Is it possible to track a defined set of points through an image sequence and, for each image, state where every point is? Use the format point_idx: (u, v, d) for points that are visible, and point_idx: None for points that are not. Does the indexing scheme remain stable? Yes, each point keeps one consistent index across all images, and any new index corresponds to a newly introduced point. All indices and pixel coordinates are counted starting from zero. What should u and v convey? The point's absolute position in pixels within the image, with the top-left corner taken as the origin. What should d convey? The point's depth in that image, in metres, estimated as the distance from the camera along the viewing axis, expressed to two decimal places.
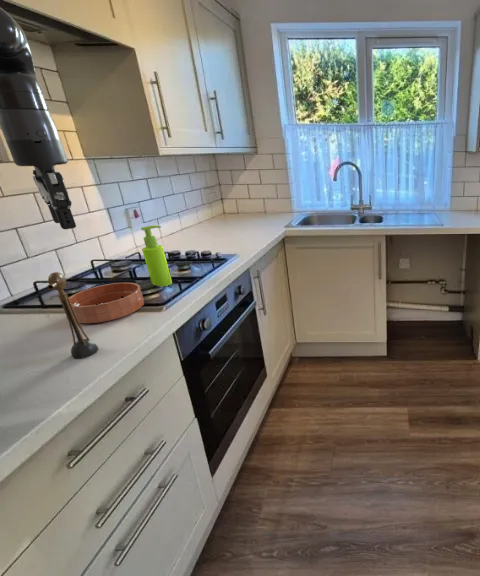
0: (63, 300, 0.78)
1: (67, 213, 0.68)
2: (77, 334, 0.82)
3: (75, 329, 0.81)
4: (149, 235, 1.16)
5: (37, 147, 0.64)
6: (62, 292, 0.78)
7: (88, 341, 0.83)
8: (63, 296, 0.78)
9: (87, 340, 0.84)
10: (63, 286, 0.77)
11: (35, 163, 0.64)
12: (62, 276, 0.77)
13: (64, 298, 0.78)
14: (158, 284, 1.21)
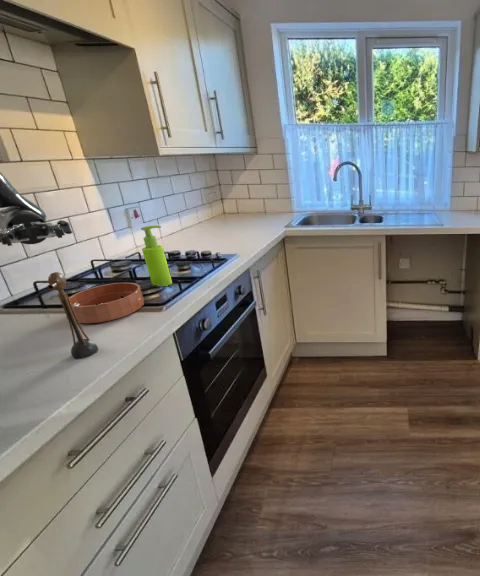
0: (63, 300, 0.78)
1: None
2: (77, 334, 0.82)
3: (75, 329, 0.81)
4: (149, 235, 1.16)
5: None
6: (62, 292, 0.78)
7: (88, 341, 0.83)
8: (63, 296, 0.78)
9: (87, 340, 0.84)
10: (63, 286, 0.77)
11: (45, 221, 0.90)
12: (62, 276, 0.77)
13: (64, 298, 0.78)
14: (158, 284, 1.21)
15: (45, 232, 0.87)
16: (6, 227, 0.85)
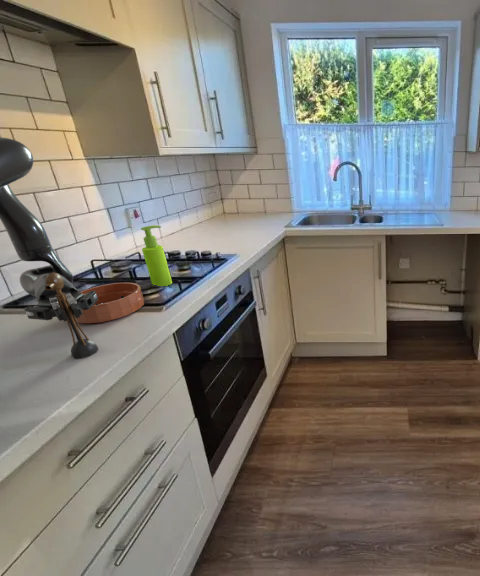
0: (61, 300, 0.78)
1: None
2: (76, 334, 0.82)
3: (74, 329, 0.81)
4: (149, 235, 1.16)
5: None
6: (60, 292, 0.78)
7: (88, 341, 0.83)
8: (61, 296, 0.78)
9: (87, 340, 0.83)
10: (61, 286, 0.77)
11: (76, 289, 0.88)
12: (59, 276, 0.77)
13: (62, 298, 0.78)
14: (158, 284, 1.21)
15: None
16: (38, 299, 0.83)
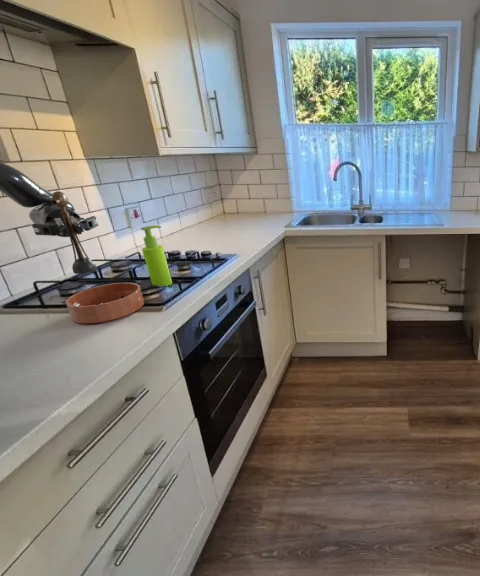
0: (65, 218, 0.87)
1: None
2: (78, 251, 0.91)
3: (76, 246, 0.90)
4: (149, 235, 1.16)
5: None
6: (64, 210, 0.87)
7: (88, 259, 0.92)
8: (65, 213, 0.87)
9: (87, 258, 0.92)
10: (65, 204, 0.86)
11: None
12: (64, 195, 0.86)
13: (66, 216, 0.87)
14: (158, 284, 1.21)
15: None
16: (44, 221, 0.92)
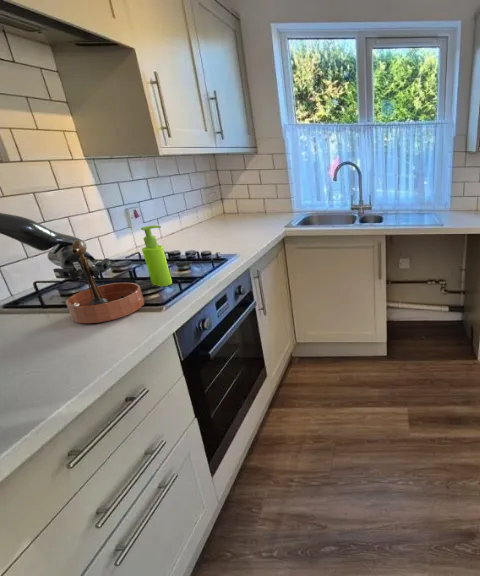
0: (83, 263, 0.97)
1: None
2: (94, 292, 1.01)
3: (92, 288, 1.00)
4: (149, 235, 1.16)
5: None
6: (83, 256, 0.97)
7: (103, 298, 1.02)
8: (83, 259, 0.97)
9: (102, 297, 1.02)
10: (84, 251, 0.96)
11: None
12: (83, 243, 0.96)
13: (84, 261, 0.97)
14: (158, 284, 1.21)
15: None
16: (63, 264, 1.02)
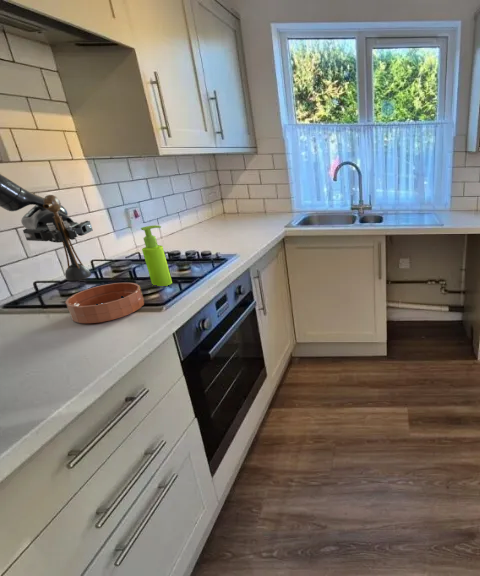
0: (58, 222, 0.84)
1: None
2: (71, 257, 0.87)
3: (69, 252, 0.86)
4: (149, 235, 1.16)
5: None
6: (57, 214, 0.83)
7: (81, 265, 0.89)
8: (58, 218, 0.83)
9: (80, 264, 0.89)
10: (58, 208, 0.83)
11: (72, 220, 0.93)
12: (57, 199, 0.83)
13: (59, 220, 0.83)
14: (158, 284, 1.21)
15: None
16: (36, 226, 0.88)
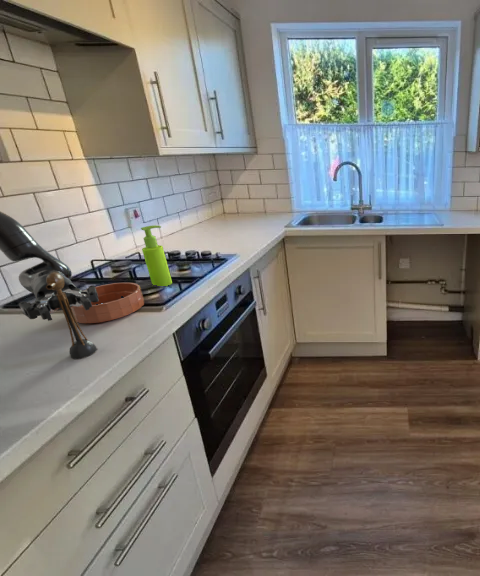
0: (61, 300, 0.78)
1: None
2: (75, 334, 0.82)
3: (73, 329, 0.81)
4: (149, 235, 1.16)
5: None
6: (60, 292, 0.78)
7: (86, 341, 0.83)
8: (61, 296, 0.78)
9: (85, 340, 0.83)
10: (61, 286, 0.77)
11: None
12: (60, 276, 0.77)
13: (62, 298, 0.78)
14: (158, 284, 1.21)
15: None
16: (36, 296, 0.83)
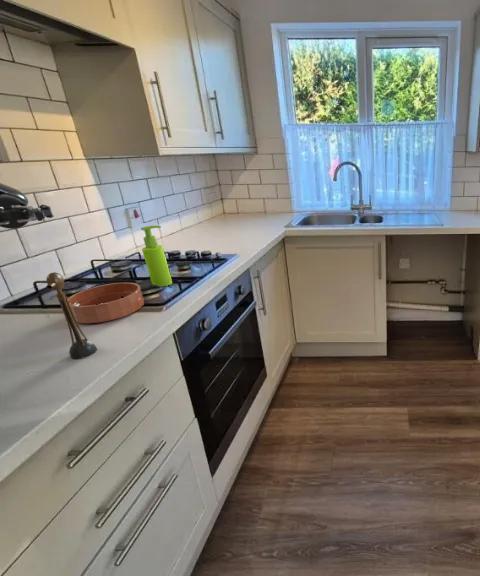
0: (61, 300, 0.78)
1: (43, 215, 0.85)
2: (75, 334, 0.82)
3: (73, 329, 0.81)
4: (149, 235, 1.16)
5: None
6: (60, 292, 0.78)
7: (86, 341, 0.83)
8: (61, 296, 0.78)
9: (85, 340, 0.83)
10: (61, 286, 0.77)
11: (26, 205, 0.89)
12: (60, 276, 0.77)
13: (62, 298, 0.78)
14: (158, 284, 1.21)
15: (25, 216, 0.86)
16: None
